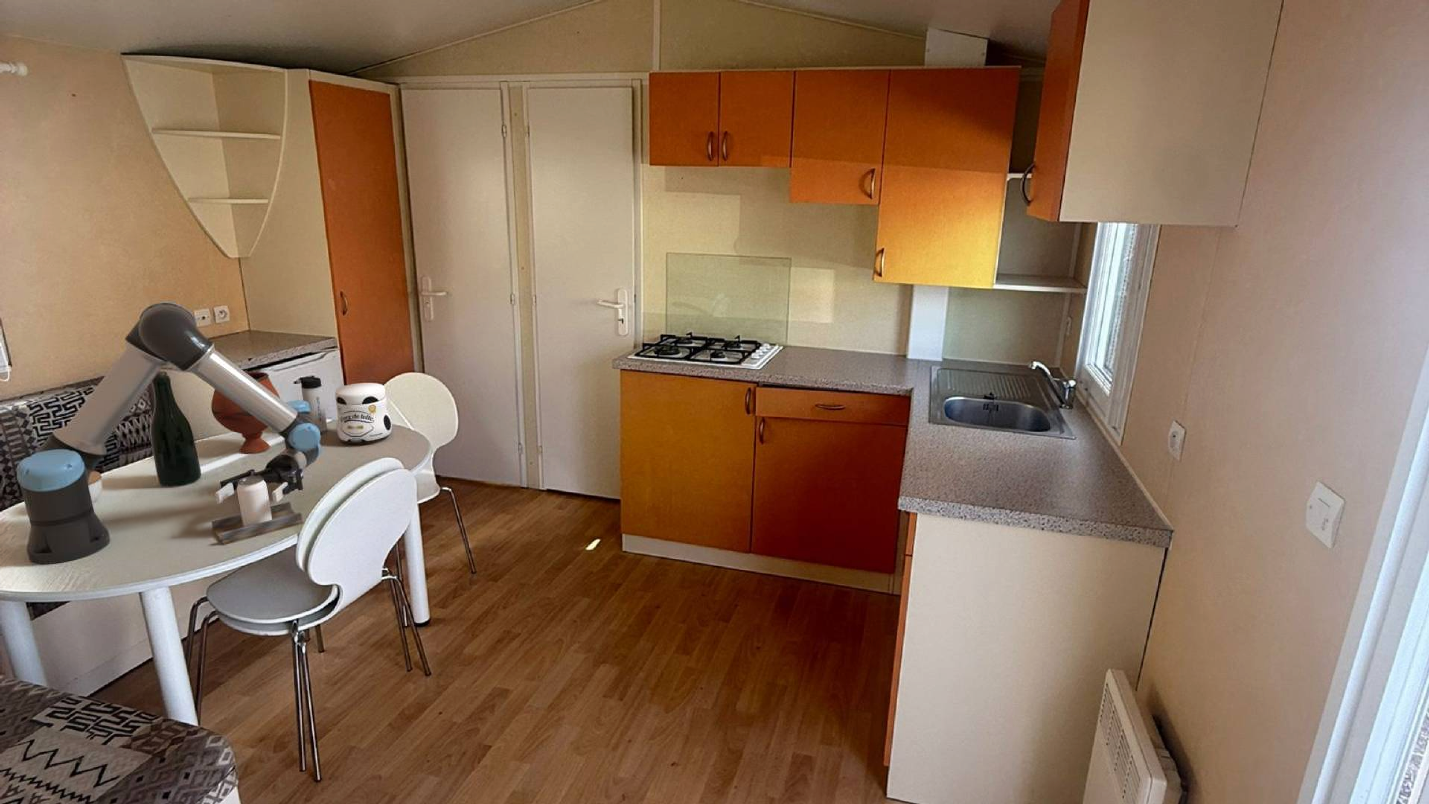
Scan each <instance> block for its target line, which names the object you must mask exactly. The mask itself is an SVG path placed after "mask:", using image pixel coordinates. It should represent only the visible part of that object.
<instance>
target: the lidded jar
mask: <svg viewBox="0 0 1429 804" xmlns="http://www.w3.org/2000/svg"><path fill="white" fill-rule="evenodd" d="M88 487H89V491H90V495H91V500H92V504H93V505H95V504H96V503H97V501H98V499H99V498H100V497H101V495H102V492H103V481H102V475H101V473H100V472H99V471H96V470H93V471H92V472H91V474H90V476H89V481H88Z"/></svg>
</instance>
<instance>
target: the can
mask: <svg viewBox="0 0 1429 804" xmlns="http://www.w3.org/2000/svg"><path fill="white" fill-rule="evenodd" d="M236 491H237V498H238V504H239V509H240V514H241V516H242V521H243V525H244V526H245V527H246V526H250V525H254V524H258V523H261V522H265V521H269V520H272V515H271V509H270V506H271V504H270V498H269V492H268V486H267V483H265V481H264V480H263V477H260V476H253V477H247V478H244V479H241V480H239V481H238V486H237V490H236Z"/></svg>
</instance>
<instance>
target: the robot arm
mask: <svg viewBox="0 0 1429 804" xmlns="http://www.w3.org/2000/svg"><path fill="white" fill-rule="evenodd" d="M123 340H124V343H125V345H126V347H125V350H123V352H122V353H121V355H120V356H119V358H118V359H117V360H116V361H115V363H114V364H113V365H112V367H111V368H110V369H109V371H108V372H107V373H106V374H105V375H104V376H103V378H102V380H100V382H99V383H98V384H97V386H96V387H95V388H94V390H93V391H92V392H91V394H90V395H89V396H88V398H87V399H86V400H85V402H84V403H83V404H82V406H81V407H80V408H79V409H78V411H76V413H75V414H74V416H73V417H72V418H71V420H70V421H69V422H68V424H67V425H66V426H65V427H60V428H55V429H54V430H53V431H52V432H51V434H50V435H49V436H48V437H47V439H46V440H45V441H44V443H43V444H41V445H40V446H39V447H38V448H37V449H35V451H34V452H33V454H32V455H30V456H28V457H25V458H23V459H22V460H20V462H19V463H18V465H17V466H16V480H17V481H18V484H19V486H20V487H19V488H20V490H21V493H22V497H23V501H24V505H25V508H26V513H27V515H28V516H27V517H28V520H29V524H30V530H29V535H28V542H27V546H26V553H27V555H28V560H29V561H31V562H33V563H35V564H56V563H58V564H59V563H64V562H69V561H73V560H78V559H81V558H84V557H87V556H89V555H91V554H92V555H93V554H95V553H96V552H98V551H101V550H102V549H104V548H105V547H106V546H108V545H109V544H110V543H111V535H110V532H109V529H107V527H106V526H105V524H104V523H103V522H102V520H101V519H100V518H99V516H98V515H97V514H96V513H95V509H94V504H92V500H91V495H90V491H89V487H88V481H89V476H90V474H91V472H92V471H95V468H96V467H97V465H98V464H99V463H100V461H101V460H102V459H103V458H104V456H105V455H106V454H107V449H106V446H105V445H106V442H107V441H108V439H110V437H111V436H112V434H113V433H114V432H115V430H116V429H117V428H118V426H119V425H120V424H121V422H122V421H123V420H124V418H126V416H127V414H128V413H129V412H130V410H131V409H132V408H133V406H134V405H135V403H137V401H138V400H139V399H140V398H141V396H142V394H143V393H144V392H145V391H146V389H147V388H148V387H149V385H150V384H152V382H151V381H152V380H153V379H154V377H155V376H156V375H157V373H158V372H161V370H162V368H163V367H164V366H170V365H173V366H175V368H177V369H178V370H180V371H181V372H184V373H189V372H190V373H192V374H193V375H195V376H196V377H198V378H199V379H200V380H202V381H203V382H204V383H207V384H208V385H209V386H210V387H212V388H213V389H214V390H215V389H216V390H217V391H219V392H220V393H222V394H223V395H224V396H226V397H227V398H229V399H230V400H231V401H233V402H234V403H236V404H237V405H239V406H240V407H241V408H243V409H244V410H246V411H247V412H248V413H250V414H251V415H253V416H254V417H255V418H257V419H258V420H260V421H261V422H263V423H264V424H265V425H267V426H268V428H270V429H271V430H272V431H274V432H275V433H277V434H278V435H279V436H281V437H282V438H283V440H284V447H285V449H284V450H283V451H281V452H279V454H277V455H276V456H275V457H273V458H272V459H271V460H269V461H268V463H266V466H265V468H264V469H262V470H259V471H255V469H253V468H251V469H249V470H246V471H245V472H243V473H240V474H237V475H234V476H232V477H229V478H227V479H224V480H222V481H220V482H219V484H220V488H219V490H218V491H216V492H215V493H214V494H215V498H216V504H221V503H222V502H224V501H226V500H227V499H228V498H229V497H230V496H232V495H233V494H234V493H235V491H237V486H238V481H239V480H241V479H244V478H247V477H253V476H260V477H263V480H264V481H265V483H266V484H268V485H269V484H279V486H278V487H277V488H276V489H275V490H273V491H272V499H273V503H278V502H279V501H280V500H281V499H283V498H284V497H285V496H286V495H289V494H290V493H291V492H294V491H295V490H298V491H303V490H304V486H303V479H304V472H303V471H304V470H306V469H307V468H308V467H309V466H311V465H312V464H314V463H315V462H316V461H317V459H318V458H319V457H320V456H321V454H322V451H323V450H322V444H321V443H320V442H321V438H322V437H321V434H320V431H319V429H318V427H317V426H316V425H315V423H314V422H313V420H312V418H311V413H310V412H311V410H310V408H309V404H308V402H306V401H303V400H302V399H301V400H290V401H289V400H288V401H286V402H285V400H283V399H282V398H281V397H280V396H279V397H280V398H279V397H277V396H276V395H275V394H273V393H272V392H271V391H269V390H268V389H267V388H265V387H264V386H263V385H261V384H260V383H259V382H257V381H256V380H255V379H253V378H252V377H251V376H249V375H248V374H247V373H245V372H246V371H244V370H243V369H242V368H240V367H239V366H237V365H236V364H235V363H234V362H232V361H231V360H229V359H228V358H226V356H224V355H223V354H221V353H220V352H219V351H218V350H216V349H215V344H214V342H213V341H211V340H210V339H208V338H207V337H206V336H205V334H203V333H202V332H201V331H200V330H199V329H198V327H197V322H196V319H195V317H194V316H193V314H192V313H191V311H189V310H188V309H187V308H185V307H183V306H182V305H179V304H177V303H174V302H170V301H169V302H166V301H163V302H162V301H161V302H157V303H154V304H151V305H149V306H147V307H146V308H145V309H143V311H142V312H141V314H140V316H139V320H138V321H137V322H136V323H135V324H134V326H133V327H132V329H130V331H129V333H128V334H127V335H126V336H125V337H124V339H123ZM294 479H295V481H296V482H294Z"/></svg>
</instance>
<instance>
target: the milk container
mask: <svg viewBox="0 0 1429 804" xmlns="http://www.w3.org/2000/svg"><path fill="white" fill-rule="evenodd" d="M334 394H335V398H334V399H335V402H336V404H335V405H336V410H337V419H336V420H337V421H336V432H337V436H338V438H339V440H342V441H343V442H344V443H349V444H368V443H374V442H379V441H381V440H383V439H384V440H385V439H386V438H387V437H389V436H391V433H392V429H393V421H392V417H391V416H390V413H389V410H388V409H389V408H388V401H387V391H386V387H385V386H384V385H383V384H381V383H375V382H361V383H351V384H347V385H343V386H340V387H338V388H336V390H335V393H334Z"/></svg>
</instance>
